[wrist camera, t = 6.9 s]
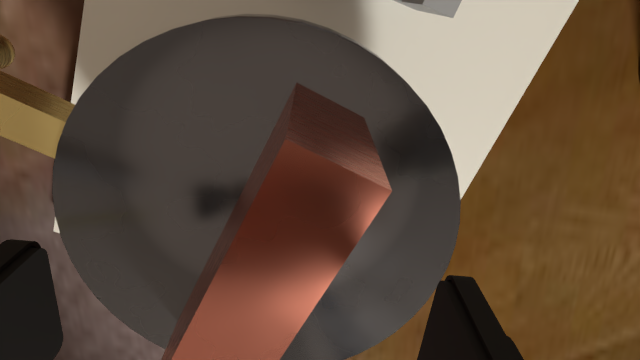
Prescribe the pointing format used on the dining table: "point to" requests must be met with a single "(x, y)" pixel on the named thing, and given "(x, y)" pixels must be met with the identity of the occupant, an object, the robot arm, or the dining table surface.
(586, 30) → the dining table surface
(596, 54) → the dining table surface
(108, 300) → the handwheel
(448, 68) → the pedestal
